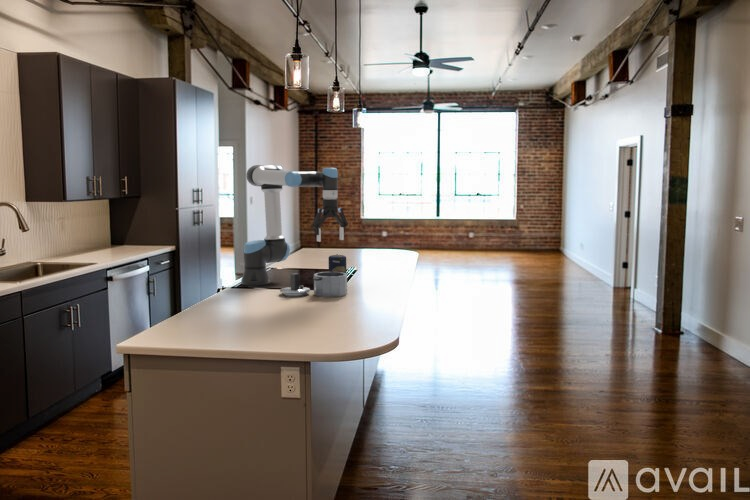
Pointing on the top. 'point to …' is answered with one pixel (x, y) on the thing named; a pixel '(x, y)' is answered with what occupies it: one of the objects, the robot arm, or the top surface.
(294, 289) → the lid
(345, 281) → the cooker pot
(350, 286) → the top surface
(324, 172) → the robot arm
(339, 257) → the canister
